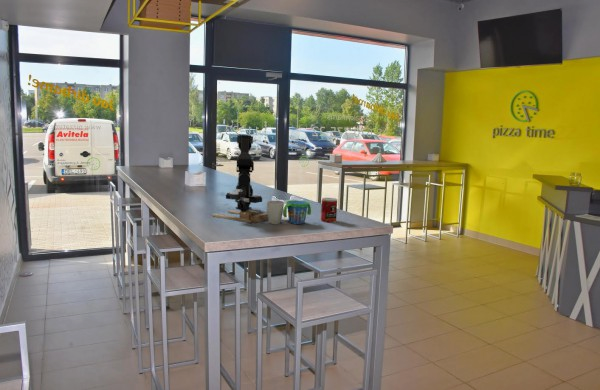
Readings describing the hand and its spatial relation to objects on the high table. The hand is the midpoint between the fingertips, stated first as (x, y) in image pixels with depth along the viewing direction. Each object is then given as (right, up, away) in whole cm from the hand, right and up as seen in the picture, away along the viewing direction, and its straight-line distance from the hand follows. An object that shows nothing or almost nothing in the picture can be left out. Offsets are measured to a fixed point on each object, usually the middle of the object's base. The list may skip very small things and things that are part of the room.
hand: (243, 214), depth 239 cm
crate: (+3, -2, -3) cm, 5 cm away
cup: (+16, -4, -8) cm, 18 cm away
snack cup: (+26, -4, -7) cm, 27 cm away
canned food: (+42, -3, +1) cm, 42 cm away
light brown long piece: (-2, -1, +1) cm, 2 cm away
